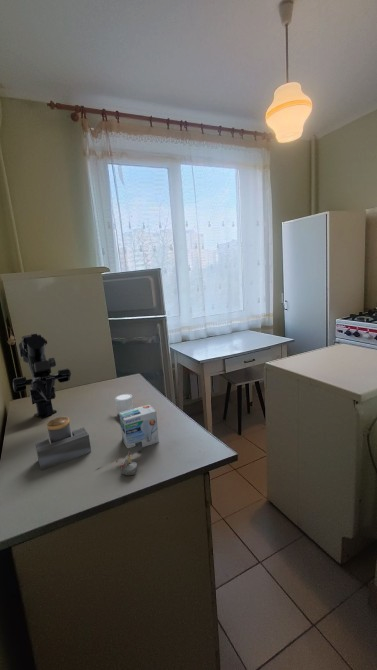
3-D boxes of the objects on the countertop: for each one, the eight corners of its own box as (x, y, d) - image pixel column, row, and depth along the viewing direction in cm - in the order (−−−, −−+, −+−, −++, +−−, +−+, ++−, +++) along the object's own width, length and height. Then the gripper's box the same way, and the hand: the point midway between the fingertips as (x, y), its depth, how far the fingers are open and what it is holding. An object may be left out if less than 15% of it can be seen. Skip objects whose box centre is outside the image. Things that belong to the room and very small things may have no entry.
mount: (31, 449, 96) (27, 429, 95) (81, 432, 105) (78, 414, 104) (38, 478, 82) (34, 455, 80) (96, 455, 90) (93, 434, 89)
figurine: (138, 476, 79) (134, 454, 79) (121, 480, 78) (117, 458, 78) (137, 467, 84) (134, 446, 84) (122, 470, 83) (118, 450, 83)
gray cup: (50, 450, 92) (44, 421, 90) (71, 443, 96) (66, 414, 94) (53, 460, 87) (48, 429, 85) (76, 452, 90) (71, 422, 88)
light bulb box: (127, 453, 90) (123, 420, 88) (122, 443, 96) (118, 412, 94) (160, 442, 95) (156, 410, 93) (152, 433, 101) (149, 403, 99)
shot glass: (130, 417, 114) (128, 400, 112) (113, 417, 115) (111, 400, 114) (136, 409, 120) (135, 393, 119) (121, 409, 122) (119, 393, 120)
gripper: (9, 356, 100) (17, 396, 93) (66, 347, 110) (78, 383, 103) (10, 372, 107) (18, 411, 101) (64, 363, 118) (74, 397, 111)
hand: (48, 400), depth 104 cm, fingers closed
